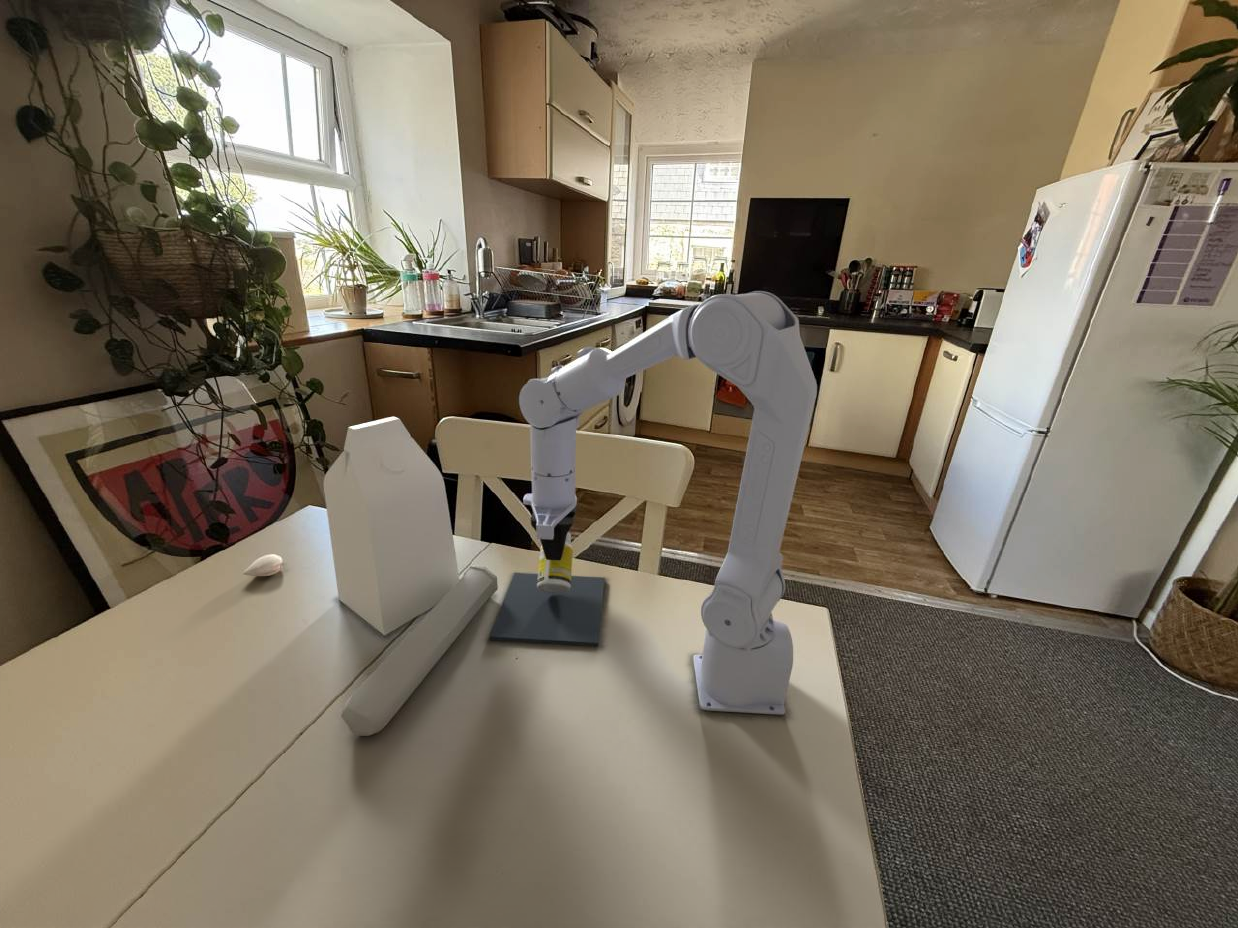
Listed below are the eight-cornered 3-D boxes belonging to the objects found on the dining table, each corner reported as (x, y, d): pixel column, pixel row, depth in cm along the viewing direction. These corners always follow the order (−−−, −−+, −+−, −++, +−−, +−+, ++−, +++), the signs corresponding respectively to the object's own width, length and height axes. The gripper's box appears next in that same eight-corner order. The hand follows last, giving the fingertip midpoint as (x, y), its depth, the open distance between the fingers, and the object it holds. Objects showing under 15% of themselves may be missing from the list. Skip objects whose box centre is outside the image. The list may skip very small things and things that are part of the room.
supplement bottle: (576, 592, 71) (579, 537, 75) (560, 582, 67) (564, 525, 72) (547, 595, 73) (551, 542, 77) (530, 585, 69) (536, 530, 73)
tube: (379, 724, 47) (502, 575, 70) (332, 699, 48) (469, 558, 70) (373, 756, 50) (493, 601, 72) (327, 731, 50) (461, 585, 72)
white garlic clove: (288, 572, 75) (285, 558, 74) (249, 587, 71) (245, 573, 70) (279, 561, 77) (275, 547, 76) (240, 575, 74) (236, 560, 73)
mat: (604, 580, 76) (604, 577, 76) (598, 646, 64) (598, 642, 63) (514, 575, 77) (514, 572, 76) (489, 640, 64) (489, 636, 63)
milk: (415, 561, 79) (393, 404, 69) (461, 590, 73) (445, 421, 63) (338, 599, 70) (300, 423, 60) (384, 635, 64) (350, 446, 54)
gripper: (533, 446, 71) (535, 528, 76) (509, 490, 58) (514, 586, 63) (582, 449, 71) (581, 531, 76) (570, 494, 58) (569, 589, 63)
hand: (554, 556), depth 70 cm, fingers closed
